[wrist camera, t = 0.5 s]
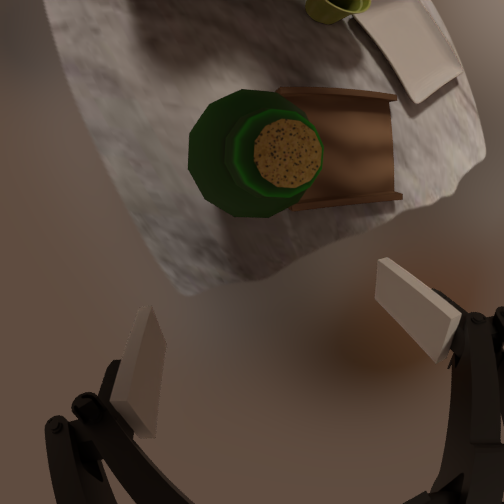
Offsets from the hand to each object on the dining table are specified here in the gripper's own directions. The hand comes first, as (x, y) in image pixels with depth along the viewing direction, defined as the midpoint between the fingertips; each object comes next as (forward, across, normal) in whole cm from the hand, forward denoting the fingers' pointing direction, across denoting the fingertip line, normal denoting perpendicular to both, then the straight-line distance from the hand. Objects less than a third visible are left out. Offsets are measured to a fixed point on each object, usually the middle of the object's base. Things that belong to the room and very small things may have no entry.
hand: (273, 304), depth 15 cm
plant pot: (+28, +19, +32) cm, 47 cm away
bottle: (+28, +2, +7) cm, 29 cm away
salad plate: (+29, +37, +28) cm, 55 cm away
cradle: (+28, +18, +7) cm, 34 cm away
